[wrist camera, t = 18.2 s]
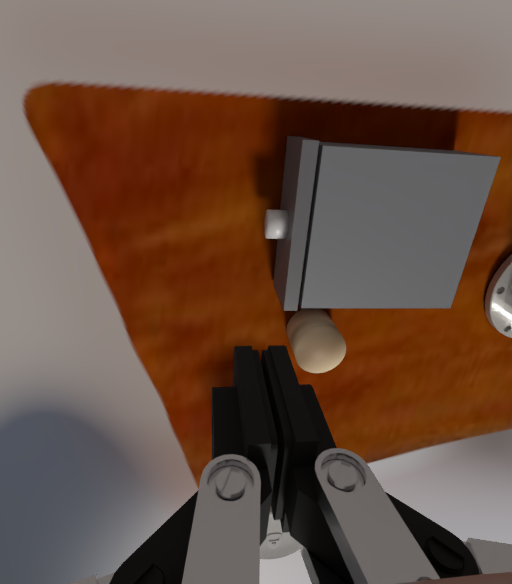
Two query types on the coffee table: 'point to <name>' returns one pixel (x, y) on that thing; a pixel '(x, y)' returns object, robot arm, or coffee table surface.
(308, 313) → the beige rounded lump
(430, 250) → the housing
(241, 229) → the coffee table surface
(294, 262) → the drawer
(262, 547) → the canned food
